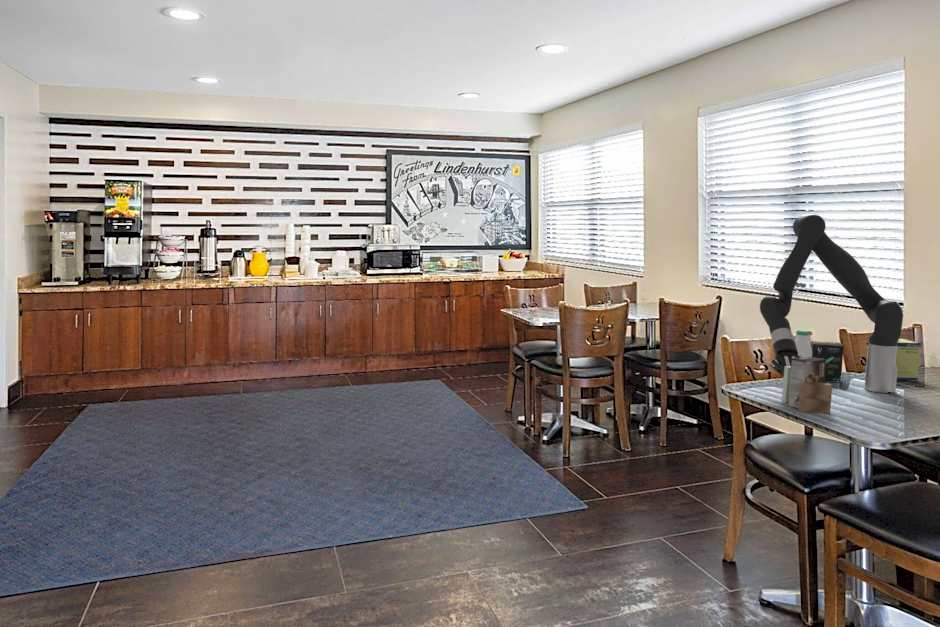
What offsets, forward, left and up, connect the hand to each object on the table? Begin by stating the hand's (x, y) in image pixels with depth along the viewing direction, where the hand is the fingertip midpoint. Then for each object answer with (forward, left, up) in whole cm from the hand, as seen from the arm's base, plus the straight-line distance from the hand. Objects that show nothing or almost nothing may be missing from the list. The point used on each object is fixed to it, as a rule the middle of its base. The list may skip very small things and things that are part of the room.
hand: (794, 385), depth 246 cm
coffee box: (-1, +8, -6) cm, 10 cm away
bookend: (0, +2, -5) cm, 6 cm away
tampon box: (-27, -39, -6) cm, 48 cm away
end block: (-1, +14, -5) cm, 15 cm away
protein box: (-56, -46, -6) cm, 73 cm away
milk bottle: (-15, -33, -6) cm, 37 cm away
